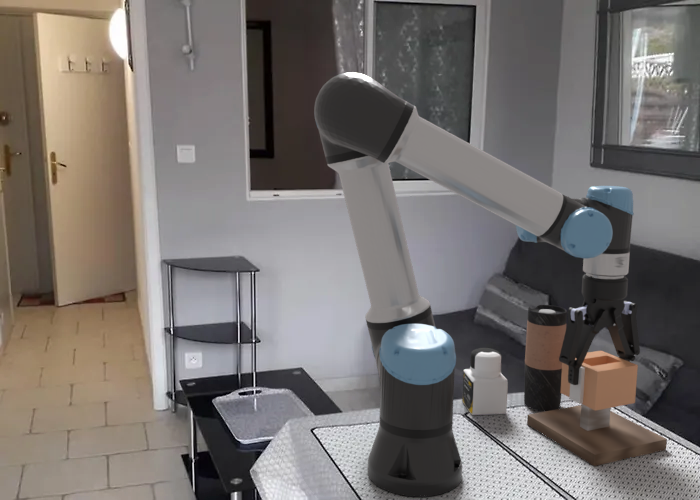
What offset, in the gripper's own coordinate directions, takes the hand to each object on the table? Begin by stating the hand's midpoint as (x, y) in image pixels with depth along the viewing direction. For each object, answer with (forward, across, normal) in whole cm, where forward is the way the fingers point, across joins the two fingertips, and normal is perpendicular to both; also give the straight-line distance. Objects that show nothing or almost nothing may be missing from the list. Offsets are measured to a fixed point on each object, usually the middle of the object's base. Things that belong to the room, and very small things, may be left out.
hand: (597, 396), depth 127 cm
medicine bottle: (+8, -11, +19) cm, 23 cm away
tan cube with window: (0, 0, 0) cm, 0 cm away
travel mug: (+8, +1, +16) cm, 18 cm away
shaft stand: (+8, 0, 0) cm, 8 cm away
